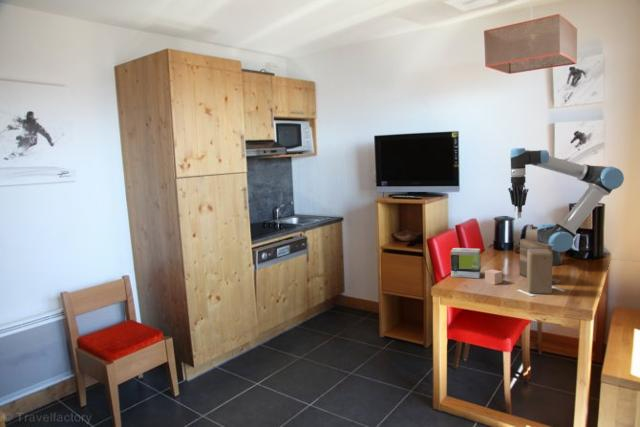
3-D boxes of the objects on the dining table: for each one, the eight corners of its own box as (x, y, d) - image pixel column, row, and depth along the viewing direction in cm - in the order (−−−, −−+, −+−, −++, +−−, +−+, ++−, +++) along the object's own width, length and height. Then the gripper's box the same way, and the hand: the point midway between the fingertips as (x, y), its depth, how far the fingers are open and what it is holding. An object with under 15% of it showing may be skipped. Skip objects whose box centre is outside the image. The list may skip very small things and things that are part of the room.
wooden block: (552, 294, 212) (553, 253, 209) (528, 293, 215) (529, 252, 212) (548, 288, 221) (549, 248, 219) (526, 287, 224) (527, 248, 222)
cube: (492, 280, 239) (492, 269, 238) (502, 282, 234) (502, 271, 233) (484, 282, 236) (484, 271, 235) (494, 284, 231) (494, 273, 230)
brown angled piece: (531, 273, 248) (532, 237, 245) (560, 282, 229) (561, 244, 226) (519, 274, 246) (519, 239, 243) (547, 284, 227) (548, 246, 224)
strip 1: (519, 290, 221) (519, 289, 221) (534, 296, 211) (534, 295, 211) (517, 290, 220) (517, 289, 220) (532, 296, 211) (532, 295, 211)
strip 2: (548, 285, 226) (548, 284, 225) (564, 291, 216) (564, 290, 216) (545, 285, 225) (545, 285, 225) (561, 291, 216) (561, 290, 216)
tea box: (480, 274, 251) (481, 248, 249) (479, 279, 242) (479, 252, 240) (453, 272, 257) (453, 247, 255) (450, 277, 248) (450, 250, 246)
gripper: (504, 176, 255) (504, 217, 258) (521, 176, 243) (521, 219, 246) (514, 175, 257) (515, 215, 260) (532, 175, 245) (532, 218, 248)
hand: (518, 217), depth 253 cm, fingers closed
